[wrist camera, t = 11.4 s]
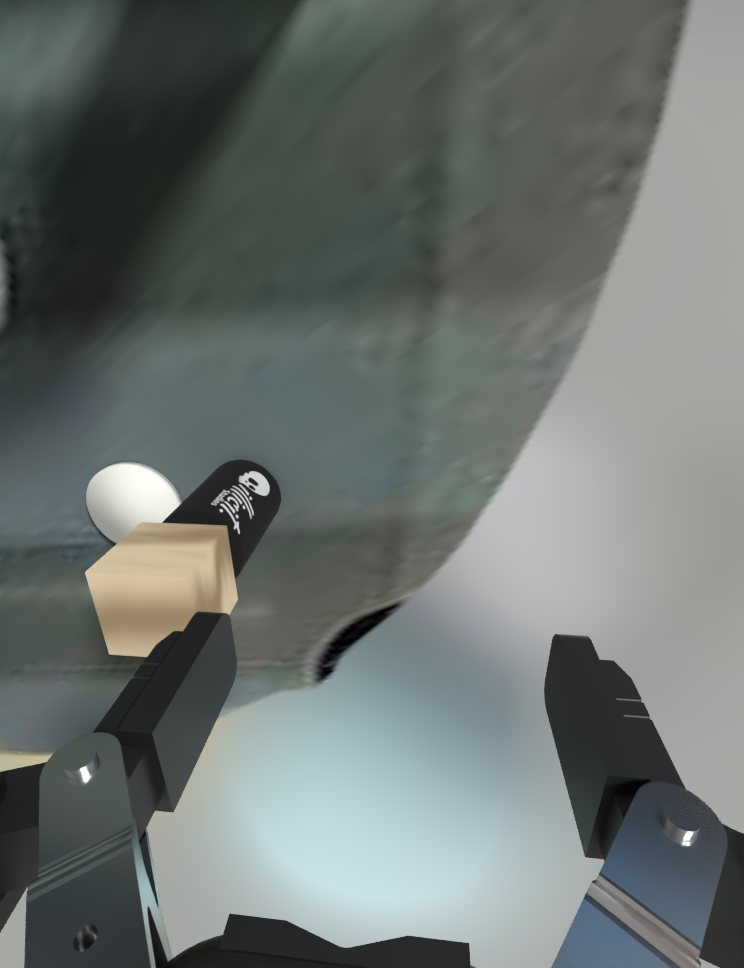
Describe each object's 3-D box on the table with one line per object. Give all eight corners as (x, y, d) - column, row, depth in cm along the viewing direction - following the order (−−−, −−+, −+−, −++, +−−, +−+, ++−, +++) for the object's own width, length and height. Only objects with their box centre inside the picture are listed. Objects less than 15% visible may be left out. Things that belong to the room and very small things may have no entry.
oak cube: (141, 522, 33) (85, 572, 28) (226, 525, 33) (186, 577, 27) (157, 594, 36) (109, 654, 30) (237, 599, 35) (202, 660, 30)
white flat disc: (82, 460, 46) (75, 464, 45) (175, 462, 45) (170, 467, 44) (104, 544, 49) (98, 549, 48) (191, 548, 48) (186, 553, 48)
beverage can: (297, 490, 45) (255, 564, 34) (254, 534, 47) (202, 615, 36) (240, 442, 43) (177, 501, 32) (199, 489, 46) (127, 560, 35)
